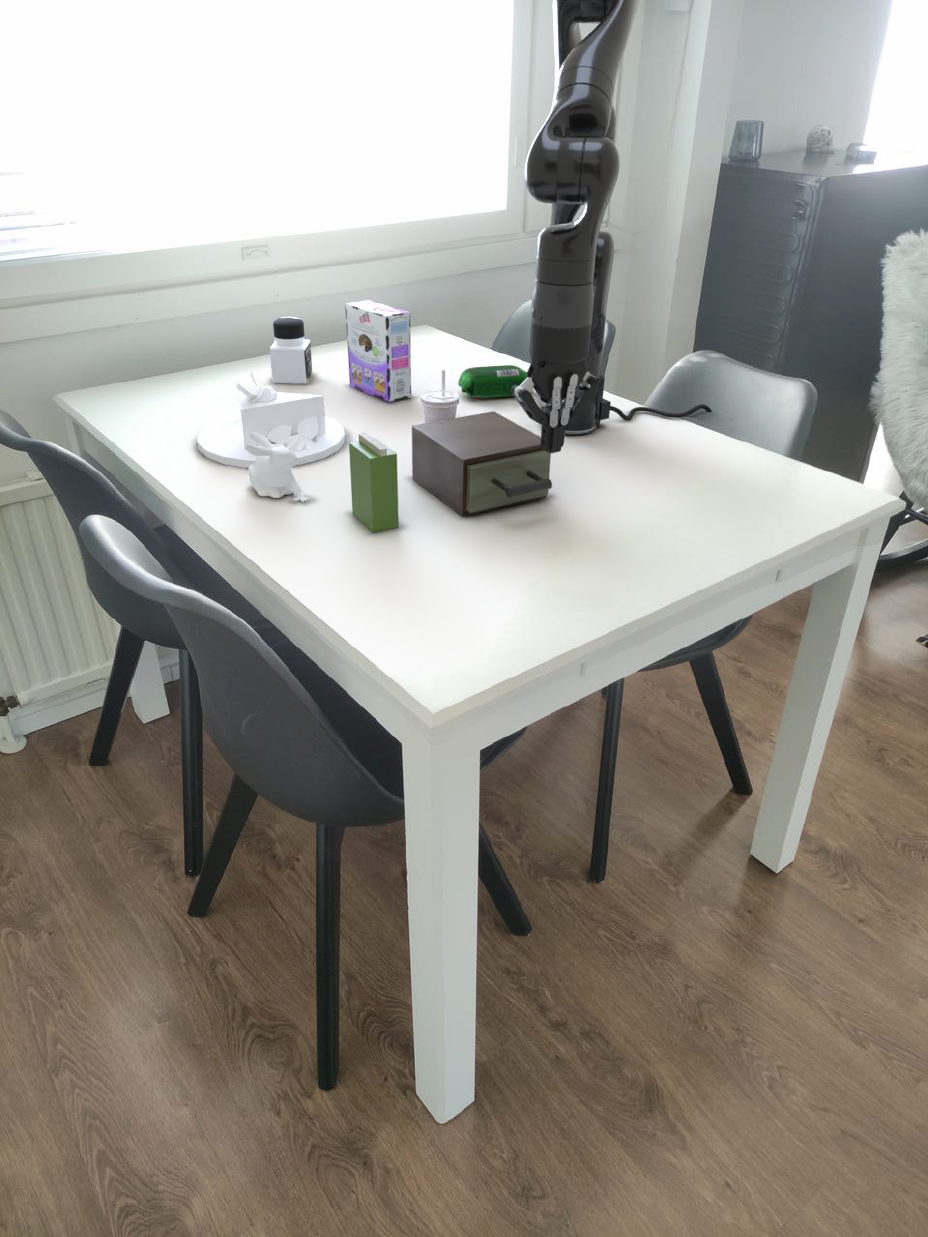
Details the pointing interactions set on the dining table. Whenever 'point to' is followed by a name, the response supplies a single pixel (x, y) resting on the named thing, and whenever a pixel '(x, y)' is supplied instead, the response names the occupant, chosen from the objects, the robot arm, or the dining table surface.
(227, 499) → the dining table surface
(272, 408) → the dish
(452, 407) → the smoothie
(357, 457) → the green rectangular block
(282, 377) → the medicine bottle
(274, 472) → the rabbit figurine
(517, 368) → the snack package
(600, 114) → the robot arm
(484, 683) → the dining table surface
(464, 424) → the cabinet
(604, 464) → the dining table surface
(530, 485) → the drawer
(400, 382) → the candy box
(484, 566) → the dining table surface
